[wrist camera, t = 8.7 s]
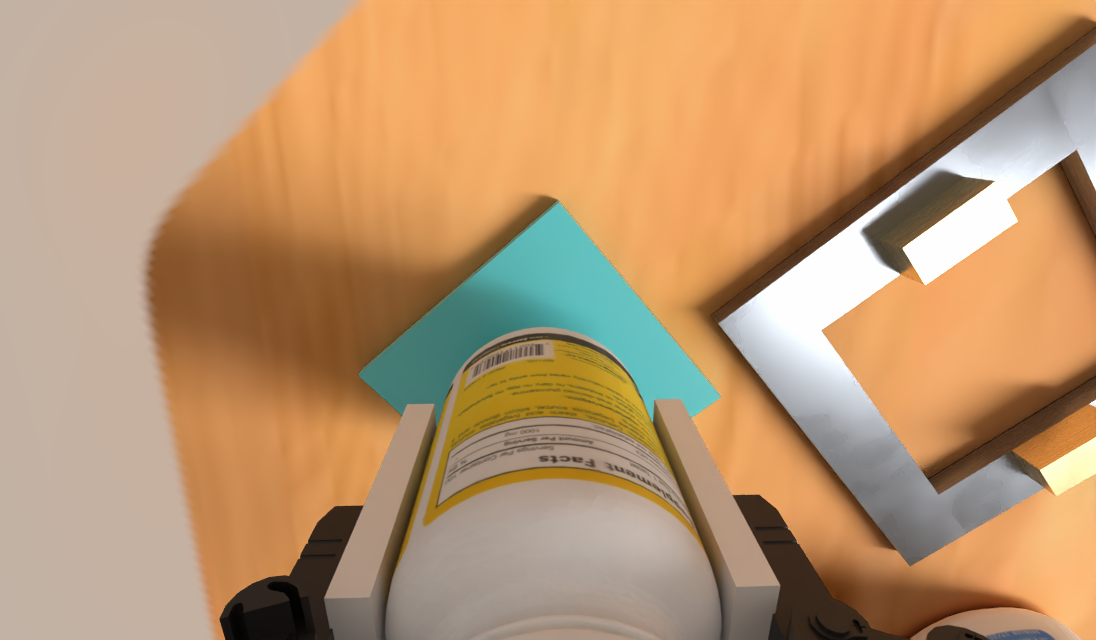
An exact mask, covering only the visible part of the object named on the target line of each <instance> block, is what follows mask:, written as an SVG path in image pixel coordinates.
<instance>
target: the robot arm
mask: <svg viewBox="0 0 1096 640" xmlns="http://www.w3.org/2000/svg"><path fill="white" fill-rule="evenodd" d="M653 426H654V428H655V430H656V433H657V435H658V438H659V440H660V443H661V445H662V447H663V450H664V452H665V454H666V457H667V459H668V462H669V464H670V467H671V469H672V472H673V474H674V476H675V479H676V481H677V484H678V486H679V488H680V491H681V493H682V496H683V498H684V500H685V503H686V505H687V508H688V510H689V512H690V515H691V517H692V520H693V522H694V525H695V527H696V530H697V532H698V534H699V537H700V539H701V542H702V544H703V547H704V549H705V552H706V554H707V557H708V559H709V562H710V565H711V568H712V570H713V574H714V577H715V581H716V584H717V587H718V592H719V598H720V604H721V614H722V629H721V637H720V640H911V639H907V638H903V637H899V636H895V635H891V634H887V633H884V632H880V631H877V630H874V629H872V628H870V626H869V624H868V622H867V621H866V620H865V619H864V618H863V617H862V616H861V615H860V614H859V613H858V612H857V611H856V610H854V609H853V608H851V607H849V606H848V605H846V604H844V603H843V602H841V601H839V600H836V599H833V598H832V596H831V595H830V593H829V592H828V590H827V588H826V587H825V585H824V584H823V582H822V580H821V579H820V577H819V576H818V574H817V572H816V571H815V569H814V568H813V566H812V564H811V563H810V561H809V560H808V558H807V557H806V555H805V553H804V552H803V550H802V549H801V547H800V545H799V544H797V542H796V539H795V537H794V536H793V534H792V533H791V531H790V530H788V526H787V525H786V523H785V521H784V520H783V518H782V517H781V515H780V513H779V512H778V510H777V509H776V508H775V507H773V506H772V505H771V504H770V503H768V502H767V501H766V500H765V499H764V498H762V497H761V496H760V495H732V494H731V492H730V490H729V488H728V486H727V484H726V483H725V481H724V479H723V477H722V475H721V473H720V471H719V469H718V468H717V466H716V464H715V462H714V460H713V458H712V456H711V454H710V453H709V451H708V449H707V447H706V445H705V443H704V441H703V439H702V438H701V436H700V434H699V432H698V430H697V428H696V426H695V424H694V422H693V421H692V419H691V417H690V415H689V413H688V411H687V409H686V407H685V406H684V404H683V402H682V400H681V399H654V412H653ZM436 429H437V427H436V416H435V404H407V406H406V408H405V411H404V413H403V415H402V418H401V420H400V422H399V425H398V427H397V429H396V432H395V434H394V436H393V439H392V441H391V443H390V446H389V448H388V450H387V453H386V455H385V457H384V460H383V462H382V464H381V467H380V469H379V471H378V474H377V476H376V478H375V481H374V483H373V485H372V488H371V490H370V492H369V495H368V497H367V499H366V502H365V504H364V506H335V507H334V508H333V509H332V510H330V511H329V512H328V513H327V514H326V515H325V516H324V517H323V518H322V519H321V520H320V521H318V523H317V525H316V526H315V528H314V530H313V532H312V534H311V536H310V538H309V540H308V544H306V545H305V547H304V549H303V551H302V553H301V555H300V559H298V561H297V563H296V565H295V566H294V568H293V570H292V572H291V574H290V576H285V575H284V576H275V577H268V578H266V579H263V580H260V581H258V582H255V583H253V584H251V585H250V586H248V587H246V588H245V589H243V590H242V591H240V592H239V593H237V594H236V596H235V597H234V598H233V599H232V600H231V601H230V602H229V603H228V604H227V605H226V606H225V608H224V611H223V613H222V615H221V617H220V623H221V626H222V629H223V633H224V636H225V640H386V636H385V617H386V607H387V601H388V596H389V591H390V586H391V582H392V578H393V574H394V571H395V568H396V564H397V561H398V558H399V554H400V551H401V548H402V544H403V541H404V538H405V535H406V531H407V528H408V524H409V521H410V518H411V514H412V511H413V508H414V504H415V501H416V497H417V494H418V491H419V487H420V484H421V480H422V477H423V474H424V471H425V466H426V463H427V460H428V457H429V453H430V449H431V446H432V443H433V439H434V435H435V432H436ZM926 640H989V639H988V638H986V637H985V636H983V635H981V634H978V633H976V632H974V631H971V630H969V629H967V628H963V627H957V626H952V625H944V626H937V627H934V628H933V629H932V630H931V631H930V632H929V633H928V634H927V636H926Z"/></svg>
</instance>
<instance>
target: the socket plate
mask: <svg viewBox="0 0 1096 640" xmlns="http://www.w3.org/2000/svg"><path fill="white" fill-rule="evenodd" d="M1059 162H1060V164H1061V166H1062V168H1063V170H1064V172H1065V174H1066V176H1067V178H1068V180H1069V183H1070V185H1071V187H1072V189H1073V191H1074V193H1075V195H1076V197H1077V199H1078V201H1079V203H1080V205H1081V208H1082V210H1083V212H1084V214H1085V216H1086V218H1087V220H1088V222H1089V224H1090V226H1091V228H1092V231H1093V233H1094V235H1095V237H1096V28H1094V29H1093V30H1092V31H1090V32H1089V33H1088V34H1086V35H1085V36H1084V37H1082V38H1081V39H1080V40H1078V41H1077V42H1076V43H1074V44H1073V45H1071V46H1070V47H1069V48H1067V49H1066V50H1065V51H1063V52H1062V53H1061V54H1059V55H1058V56H1057V57H1055V58H1054V59H1053V60H1051V61H1050V62H1049V63H1047V64H1046V65H1045V66H1043V67H1042V68H1041V69H1039V70H1038V71H1037V72H1035V73H1034V74H1033V75H1031V76H1030V77H1029V78H1027V79H1026V80H1025V81H1023V82H1022V83H1021V84H1019V85H1018V86H1017V87H1015V88H1014V89H1013V90H1011V91H1010V92H1009V93H1007V94H1006V95H1005V96H1003V97H1002V98H1001V99H999V100H998V101H997V102H995V103H994V104H993V105H991V106H990V107H989V108H987V109H986V110H985V111H983V112H982V113H981V114H979V115H978V116H977V117H975V118H974V119H973V120H971V121H970V122H969V123H967V124H966V125H965V126H963V127H962V128H961V129H959V130H958V131H957V132H955V133H954V134H953V135H951V136H950V137H949V138H947V139H946V140H945V141H943V142H942V143H941V144H939V145H938V146H937V147H935V148H934V149H933V150H931V151H930V152H929V153H927V154H926V155H925V156H923V157H922V158H920V159H919V160H918V161H916V162H915V163H914V164H912V165H911V166H910V167H908V168H907V169H906V170H904V171H903V172H902V173H900V174H899V175H898V176H896V177H895V178H894V179H892V180H891V181H890V182H888V183H887V184H886V185H884V186H883V187H882V188H880V189H879V190H878V191H876V192H875V193H874V194H872V195H871V196H870V197H868V198H867V199H866V200H864V201H863V202H862V203H860V204H859V205H858V206H856V207H855V208H854V209H852V210H851V211H850V212H848V213H847V214H846V215H844V216H843V217H842V218H840V219H839V220H838V221H836V222H835V223H834V224H832V225H831V226H830V227H828V228H827V229H826V230H824V231H823V232H822V233H820V234H819V235H818V236H816V237H815V238H814V239H812V240H811V241H810V242H808V243H807V244H806V245H804V246H803V247H802V248H800V249H799V250H798V251H796V252H795V253H794V254H792V255H791V256H790V257H788V258H787V259H786V260H784V261H783V262H782V263H780V264H779V265H778V266H776V267H775V268H774V269H772V270H771V271H770V272H768V273H767V274H765V275H764V276H763V277H761V278H760V279H759V280H757V281H756V282H755V283H753V284H752V285H751V286H749V287H748V288H747V289H745V290H744V291H743V292H741V293H740V294H739V295H737V296H736V297H735V298H733V299H732V300H731V301H729V302H728V303H727V304H725V305H724V306H723V307H721V308H720V309H719V310H717V311H716V312H715V313H713V314H712V315H711V316H712V317H713V319H714V320H715V321H716V322H717V324H718V325H719V326H720V327H721V329H722V330H723V331H724V333H725V334H726V335H727V336H728V338H729V339H730V340H731V341H732V343H733V344H734V345H735V346H736V348H737V349H738V350H739V352H740V353H741V354H742V355H743V357H744V358H745V359H746V360H747V362H748V363H749V364H750V365H751V367H752V368H753V369H754V371H755V372H756V373H757V374H758V376H759V377H760V378H761V379H762V381H763V382H764V383H765V384H766V386H767V387H768V388H769V389H770V391H771V392H772V393H773V395H774V396H775V397H776V398H777V400H778V401H779V402H780V403H781V405H782V406H783V407H784V408H785V410H786V411H787V412H788V414H789V415H790V416H791V417H792V419H793V420H794V421H795V422H796V424H797V425H798V426H799V427H800V429H801V430H802V431H803V433H804V434H805V435H806V436H807V438H808V439H809V440H810V441H811V443H812V444H813V445H814V446H815V448H816V449H817V450H818V451H819V453H820V454H821V455H822V457H823V458H824V459H825V460H826V462H827V463H828V464H829V465H830V467H831V468H832V469H833V470H834V472H835V473H836V474H837V476H838V477H839V478H840V479H841V481H842V482H843V483H844V484H845V486H846V487H847V488H848V489H849V491H850V492H851V493H852V495H853V496H854V497H855V498H856V500H857V501H858V502H859V503H860V505H861V506H862V507H863V508H864V510H865V511H866V512H867V513H868V515H869V516H870V517H871V519H872V520H873V521H874V522H875V524H876V525H877V526H878V527H879V529H880V530H881V531H882V532H883V534H884V535H885V536H886V538H887V539H888V540H889V541H890V543H891V544H892V545H893V546H894V548H895V549H896V550H897V551H898V553H899V554H900V555H901V556H902V557H903V559H904V560H905V561H906V562H907V563H908V564H909V566H911V565H913V564H915V563H916V562H918V561H920V560H922V559H923V558H925V557H927V556H928V555H930V554H932V553H934V552H935V551H937V550H939V549H940V548H942V547H944V546H946V545H947V544H949V543H951V542H953V541H954V540H956V539H958V538H959V537H961V536H963V535H965V534H966V533H968V532H970V531H971V530H973V529H975V528H977V527H978V526H980V525H982V524H983V523H985V522H987V521H989V520H990V519H992V518H994V517H996V516H997V515H999V514H1001V513H1002V512H1004V511H1006V510H1008V509H1009V508H1011V507H1013V506H1014V505H1016V504H1018V503H1020V502H1021V501H1023V500H1025V499H1027V498H1028V497H1030V496H1032V495H1033V494H1035V493H1037V492H1039V491H1040V490H1042V489H1044V488H1045V489H1047V490H1048V491H1049V492H1051V493H1052V494H1054V495H1055V496H1057V495H1059V494H1061V493H1063V492H1064V491H1066V490H1068V489H1070V488H1071V487H1073V486H1075V485H1077V484H1078V483H1080V482H1082V481H1084V480H1085V479H1087V478H1089V477H1090V476H1092V475H1094V474H1096V377H1094V378H1093V379H1091V380H1090V381H1088V382H1086V383H1085V384H1083V385H1081V386H1080V387H1078V388H1076V389H1075V390H1073V391H1072V392H1070V393H1068V394H1067V395H1065V396H1063V397H1062V398H1060V399H1059V400H1057V401H1055V402H1054V403H1052V404H1050V405H1049V406H1047V407H1045V408H1044V409H1042V410H1041V411H1039V412H1037V413H1036V414H1034V415H1032V416H1031V417H1029V418H1028V419H1026V420H1024V421H1023V422H1021V423H1019V424H1018V425H1016V426H1014V427H1013V428H1011V429H1010V430H1008V431H1006V432H1005V433H1003V434H1001V435H1000V436H998V437H997V438H995V439H993V440H992V441H990V442H988V443H987V444H985V445H983V446H982V447H980V448H979V449H977V450H975V451H974V452H972V453H970V454H969V455H967V456H966V457H964V458H962V459H961V460H959V461H957V462H956V463H954V464H952V465H951V466H949V467H948V468H946V469H944V470H943V471H941V472H939V473H938V474H936V475H935V476H933V477H931V478H930V479H927V478H926V476H925V475H924V474H923V472H922V471H921V469H920V468H919V467H918V465H917V464H916V462H915V461H914V460H913V458H912V457H911V455H910V454H909V453H908V451H907V450H906V448H905V447H904V446H903V444H902V443H901V442H900V440H899V439H898V437H897V436H896V435H895V433H894V432H893V430H892V429H891V428H890V426H889V425H888V423H887V422H886V421H885V419H884V418H883V416H882V415H881V414H880V412H879V411H878V409H877V408H876V407H875V405H874V404H873V402H872V401H871V400H870V398H869V397H868V396H867V394H866V393H865V391H864V390H863V389H862V387H861V386H860V384H859V383H858V382H857V380H856V379H855V377H854V376H853V375H852V373H851V372H850V370H849V369H848V368H847V366H846V365H845V363H844V362H843V361H842V359H841V358H840V356H839V355H838V354H837V352H836V351H835V349H834V348H833V347H832V345H831V344H830V343H829V341H828V340H827V338H826V337H825V336H824V334H823V333H822V331H821V330H822V329H823V328H825V327H826V326H828V325H829V324H831V323H832V322H833V321H835V320H836V319H838V318H839V317H840V316H842V315H843V314H845V313H846V312H848V311H849V310H850V309H852V308H853V307H855V306H856V305H857V304H859V303H860V302H862V301H863V300H865V299H866V298H867V297H869V296H870V295H872V294H873V293H874V292H876V291H877V290H879V289H880V288H882V287H883V286H884V285H886V284H887V283H889V282H890V281H891V280H893V279H894V278H896V277H897V276H899V275H900V274H901V275H903V276H906V277H908V278H910V279H913V280H915V281H917V282H920V283H922V284H924V285H926V284H927V283H929V282H930V281H932V280H933V279H934V278H936V277H937V276H939V275H940V274H942V273H943V272H945V271H946V270H947V269H949V268H950V267H952V266H953V265H955V264H956V263H957V262H959V261H960V260H962V259H963V258H965V257H966V256H968V255H969V254H970V253H972V252H973V251H975V250H976V249H978V248H979V247H981V246H982V245H983V244H985V243H986V242H988V241H989V240H991V239H992V238H993V237H995V236H996V235H998V234H999V233H1001V232H1002V231H1004V230H1005V229H1006V228H1008V227H1009V226H1011V225H1012V224H1014V223H1015V222H1017V219H1016V217H1015V215H1014V214H1013V212H1012V210H1011V208H1010V206H1009V204H1008V202H1007V200H1006V199H1008V198H1009V197H1010V196H1012V195H1013V194H1015V193H1016V192H1017V191H1019V190H1020V189H1022V188H1023V187H1025V186H1026V185H1027V184H1029V183H1030V182H1032V181H1033V180H1034V179H1036V178H1037V177H1039V176H1040V175H1042V174H1043V173H1044V172H1046V171H1047V170H1049V169H1050V168H1051V167H1053V166H1054V165H1056V164H1057V163H1059Z"/></svg>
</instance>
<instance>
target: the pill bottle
mask: <svg viewBox="0 0 1096 640" xmlns="http://www.w3.org/2000/svg"><path fill="white" fill-rule="evenodd" d="M721 629H722V614H721V604H720V598H719V592H718V587H717V584H716V581H715V577H714V574H713V570H712V568H711V565H710V562H709V559H708V557H707V554H706V552H705V549H704V547H703V544H702V542H701V539H700V537H699V534H698V532H697V530H696V527H695V525H694V522H693V520H692V517H691V515H690V512H689V510H688V508H687V505H686V503H685V500H684V498H683V496H682V493H681V491H680V488H679V486H678V484H677V481H676V479H675V476H674V474H673V472H672V469H671V467H670V464H669V462H668V459H667V457H666V454H665V452H664V450H663V447H662V445H661V443H660V440H659V438H658V435H657V433H656V430H655V428H654V426H653V423H652V421H651V418H650V416H649V413H648V411H647V409H646V406H645V403H644V401H643V398H642V396H641V395H640V392H639V390H638V388H637V385H636V383H635V382H634V380H633V378H632V376H631V374H630V373H629V371H628V370H627V368H626V367H625V366H624V365H623V363H622V362H621V361H620V360H619V359H618V358H617V357H616V356H615V355H614V354H613V353H612V352H611V351H610V350H609V349H607V348H606V347H605V346H603V345H602V344H600V343H599V342H597V341H595V340H594V339H592V338H590V337H588V336H586V335H583V334H580V333H577V332H574V331H570V330H566V329H561V328H554V327H535V328H527V329H522V330H518V331H514V332H511V333H508V334H505V335H503V336H501V337H498V338H496V339H495V340H493V341H491V342H489V343H488V344H486V345H484V346H483V347H482V348H480V349H479V350H478V351H476V352H475V353H474V354H473V355H472V356H471V357H470V358H469V359H468V360H467V361H466V362H465V363H464V365H463V366H462V367H461V369H460V370H459V371H458V373H457V374H456V376H455V378H454V380H453V382H452V384H451V386H450V389H449V391H448V394H447V396H446V399H445V402H444V406H443V409H442V412H441V415H440V418H439V422H438V426H437V429H436V432H435V435H434V439H433V443H432V446H431V449H430V453H429V457H428V460H427V463H426V466H425V471H424V474H423V477H422V480H421V484H420V487H419V491H418V494H417V497H416V501H415V504H414V508H413V511H412V514H411V518H410V521H409V524H408V528H407V531H406V535H405V538H404V541H403V544H402V548H401V551H400V554H399V558H398V561H397V564H396V568H395V571H394V574H393V578H392V582H391V586H390V591H389V596H388V601H387V607H386V617H385V636H386V640H720V637H721Z"/></svg>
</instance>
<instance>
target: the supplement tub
mask: <svg viewBox="0 0 1096 640" xmlns="http://www.w3.org/2000/svg"><path fill="white" fill-rule="evenodd" d="M944 625H952V626H957V627H963V628H967V629H969V630H971V631H974V632H976V633H978V634H981V635H983V636H985V637H986V638H988V639H989V640H1081V639H1080V638H1079V637H1078V636H1077V635H1076V634H1075V633H1074V632H1073V631H1072V630H1070V629H1069V628H1068V627H1066V626H1065V625H1063V624H1062V623H1060V622H1059V621H1057V620H1055V619H1053V618H1051V617H1049V616H1047V615H1044V614H1041V613H1038V612H1035V611H1031V610H1028V609H1020V608H1007V607H999V608H990V609H978V610H971V611H966V612H962V613H958V614H955V615H952V616H949V617H946V618H944V619H942V620H940V621H938V622H936V623H933V624H931V625H930V626H928V627H926V628H924V629H923V630H921V631H920V632H918V633H917V634H916V635H914V636H913V637H911V638H910V639H911V640H926V636H927V634H928V633H929V632H930V631H931V630H932V629H933V628H934V627H937V626H944Z"/></svg>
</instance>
